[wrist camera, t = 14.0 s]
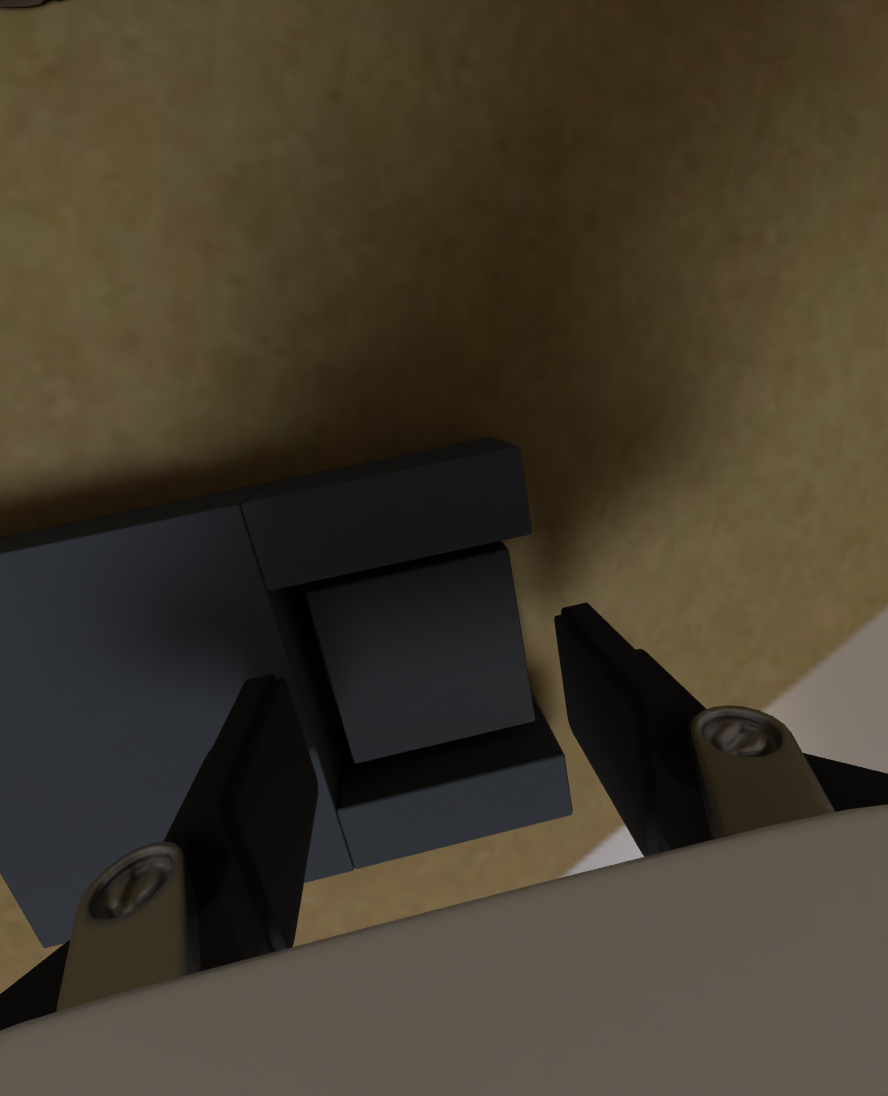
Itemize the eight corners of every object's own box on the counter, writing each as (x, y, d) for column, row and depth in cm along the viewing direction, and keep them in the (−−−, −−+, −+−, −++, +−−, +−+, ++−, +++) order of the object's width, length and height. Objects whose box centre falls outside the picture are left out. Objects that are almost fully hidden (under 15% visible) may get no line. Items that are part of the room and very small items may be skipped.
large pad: (492, 436, 14) (521, 445, 11) (541, 744, 17) (574, 815, 14) (-46, 546, 13) (-167, 588, 10) (104, 850, 16) (43, 949, 13)
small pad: (485, 520, 15) (508, 548, 12) (510, 666, 17) (536, 721, 14) (318, 556, 15) (303, 593, 12) (359, 701, 16) (354, 765, 14)
